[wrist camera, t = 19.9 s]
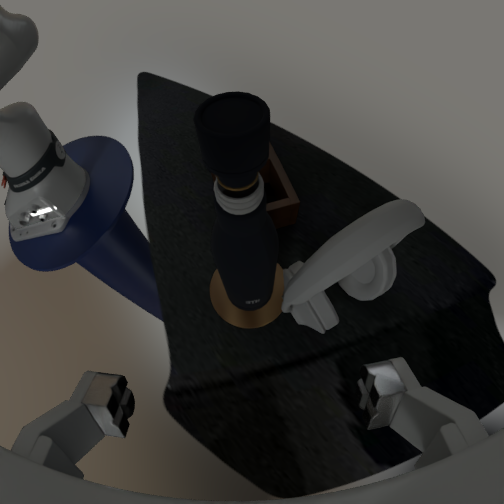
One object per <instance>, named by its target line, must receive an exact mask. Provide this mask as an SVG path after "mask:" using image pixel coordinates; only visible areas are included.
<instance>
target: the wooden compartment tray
mask: <svg viewBox="0 0 504 504" xmlns="http://www.w3.org/2000/svg"><path fill="white" fill-rule="evenodd" d="M258 172H259V174H260V175H261V177H262V179H263V181H264V183H268V182H269V183H270V185H271V187H272V189H273V192H274V194H275V196H276V198H277V201H275V202H271V203H268V204H266V211H267V213H268V214H269V216H270V217H271V219H272V221H273V223H274V226H275V228H276V229H278V228H281V227H284V226H288V225H291V224H295V223H296V219H297V214H298V209H299V204H300V201H299V199H298V197H297V195H296V193H295V191H294V189H293V187H292V185H291V183H290V181H289V179H288V177H287V175H286V173H285V171H284V169H283V167H282V165H281V163H280V161H279V159H278V157H277V155H276V153H275V151H274V149H273V147H272V146H271V144H270V142H269V158H268V160H267V163H266V165H265V166H264V167H263V168H262V169H261V170H260V171H258ZM211 174H212V177H213V180H214V183H215V181H216V177H217V176H216V175H215V174H213V173H211Z"/></svg>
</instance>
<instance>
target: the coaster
mask: <svg viewBox="0 0 504 504" xmlns="http://www.w3.org/2000/svg"><path fill="white" fill-rule="evenodd" d="M283 291H284V276H283V269H282V268H281V266H280V265H279V264H278V263H277V267H276V273H275V280H274V286H273V292H272V295H271V299H270V300H269V301H268V303H267V304H266V305H265V306H263V307H262V308H260V309H258V310H255V311H244V310H241V309H238V308H237V307H236V306H234V305H233V304H232V303H231V301H230V300H229V298H228V296H227V293H226V291H225V288H224V285H223V283H222V280H221V277H220V275H219V272H218V269H216V271H215V273H214V275H213V277H212V280H211V284H210V297H211V301H212V304H213V306H214V308H215V310H216V311H217V313H218V314H219V315H220V316H221V317H222V318H223V319H224V320H225V321H227V322H228V323H230V324H232V325H234V326H237V327H241V328H257V327H261V326H264V325H266V324H268V323H270V322H272V321H273V320H274V319H276V318H277V317H278V316H279V315H280V313H281V312H282V309H281V307H282V302H283V299H282V295H283Z"/></svg>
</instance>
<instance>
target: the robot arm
mask: <svg viewBox="0 0 504 504" xmlns="http://www.w3.org/2000/svg"><path fill="white" fill-rule="evenodd" d="M37 45H38V30H37V28H36V25H35V23H34V22H33V21H32V20H31V19H30V18H29V17H27V16H24V15H21V14H12V13H9V12H7V11H5V10H4V9H3V8H2V7H1V5H0V90H1V89H2V88H3V87H4V86H5V85H6V84H7V83H8V81H10V80H11V79H12V78H13V77H14V76H15V75H16V74H17V73H18V72H19V71H20V70H21V68H22V67H23V65H24V64H25V63H26V61H28V59H29V58H30V57H31V55H32V54H33V52H35V50H36V48H37ZM0 168H1V169H2V170H3V171H4V172H3V180H2V185H3V183H4V188H5V186H6V182H7V181H8V183H9V190H8V193H7V198H6V201H5V204H4V205H5V210H6V216H7V218H8V220H9V222H10V232H11V236H12V238H13V240H14V241H16V242H17V241H22V240H26V239H31V238H35V237H40V236H45V235H49V234H54V233H59V232H62V231H63V230H64V228H65V227H66V225H67V223H68V221H69V219H70V217H71V216H72V215H73V214H74V213H75V212H76V210H77V209H78V208H79V207H80V206H81V204H82V203H83V201H84V199H85V197H86V195H87V193H88V190H89V186H90V177H89V174H88V172H87V171H86V170H85V169H84V168H82V167H80V166H79V165H78V164H76V163H75V162H74V161H73V160H72V159H71V158H70V157H69V156H68V155H67V154H66V152H65V150H64V148H63V146H62V145H61V143H60V142H59V140H58V139H57V138H56V136H55V135H54V133H53V132H52V131H51V130H49V129H48V128H47V127H46V125H45V124H44V122H43V121H42V119H41V118H40V116H39V114H38V113H37V111H36V110H35V108H34V107H33V106H32V105H31V104H28V103H26V102H17V103H13V104H11V105H8V106H6V107H4V108H2V109H0ZM360 376H361V379H360V380H359V381H358V382H357V386H356V398H357V402H358V405H359V407H361V408H362V409H364V412H363V415H362V416H363V419H364V421H365V424H366V427H367V430H369V429H374V428H379V427H383V426H388V425H390V427H391V428H392V429H394V430H395V431H396V432H397V433H399V434H400V435H401V436H403V437H404V438H405V439H406V440H408V441H409V442H410V443H411V444H413V445H414V446H415V447H417V448H418V449H419V450H420V451H422V452H423V454H422V455H421V457H420V458H419V460H418V461H417V462H416V464H415V469H416V470H414V471H411V472H408V473H405V474H402V475H399V476H396V477H393V478H389V479H386V480H383V481H379V482H375V483H372V484H368V485H364V486H360V487H355V488H351V489H346V490H341V491H337V492H331V493H325V494H319V495H313V496H305V497H297V498H288V499H277V500H262V501H205V500H192V499H180V498H171V497H163V496H156V495H150V494H144V493H138V492H133V491H128V490H123V489H118V488H114V487H109V486H105V485H102V484H98V483H94V482H90V481H87V480H84V479H83V477H84V475H83V473H82V471H81V470H79V468H78V467H77V466H76V465H75V464H76V463H77V462H78V461H79V460H80V459H81V458H82V457H83V456H84V455H86V454H87V453H88V452H89V451H90V450H91V449H92V448H93V447H94V446H95V445H96V444H97V443H98V442H99V441H100V440H102V439H103V438H104V437H105V435H108V436H114V437H121V438H125V437H126V434H127V431H128V427H129V422H128V420H127V419H128V418H129V417H131V416H132V415H133V412H134V408H135V400H134V396H133V393H132V391H131V390H130V389H128V388H127V387H126V386H127V383H128V382H127V380H126V378H125V376H123V375H116V374H108V373H101V372H92V371H87V372H85V373H84V374H83V376H82V378H81V380H80V381H79V383H78V385H77V387H76V389H75V391H74V392H73V394H72V396H71V398H70V400H69V401H67V400H65V401H64V402H62V403H61V404H59V405H58V406H56V407H54V408H53V409H51V410H50V411H48V412H46V413H45V414H43V415H42V416H40V417H39V418H37V419H35V420H34V421H32V422H30V423H29V424H27V425H26V426H24V427H23V428H22V430H21V432H20V433H19V435H18V437H17V439H16V441H15V443H14V445H13V447H12V449H11V451H10V450H7V449H5V448H4V447H1V446H0V504H504V428H503V429H501V430H499V431H498V432H496V433H494V434H492V435H491V436H489V435H488V434H487V432H486V430H485V429H484V427H483V425H482V424H481V422H480V420H479V419H478V417H477V416H476V414H475V413H474V412H473V411H471V410H469V409H467V408H466V407H464V406H462V405H460V404H458V403H456V402H454V401H452V400H450V399H448V398H446V397H444V396H442V395H440V394H438V393H436V392H435V391H433V390H431V389H429V388H427V387H421V386H420V384H419V382H418V381H417V379H416V377H415V376H414V374H413V372H412V371H411V369H410V368H409V366H408V364H407V363H406V361H405V360H404V358H402V357H400V358H395V359H391V360H386V361H381V362H376V363H370V364H365V365H362V367H361V369H360Z"/></svg>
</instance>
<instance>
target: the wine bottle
mask: <svg viewBox="0 0 504 504" xmlns="http://www.w3.org/2000/svg"><path fill="white" fill-rule="evenodd" d="M194 124H195V129H196V133H197V137H198V142H199V146H200V150H201V155H202V159H203V162H204V165H205V167H206V168H207V169H208V170H209V171H210V172H211V173H213V174H215V175H216V176H217V177H216V181H215V183H214V191H215V195H214V205H215V210H216V214H217V218H216V220H215V223H214V225H213V228H212V237H211V252H212V255H213V259H214V261H215V264H216V267H217V269H218V272H219V275H220V277H221V280H222V283H223V285H224V288H225V291H226V293H227V296H228V298H229V300H230V301H231V303H232V304H233V305H234V306H236V307H237V308H238V309H241V310H244V311H255V310H258V309H260V308H262V307H263V306H265V305H266V304H267V303H268V301H269V300H270V299H271V295H272V292H273V286H274V280H275V273H276V267H277V260H278V253H279V239H278V234H277V231H276V228H275V226H274V223H273V221H272V219H271V217H270V216H269V214H268V213H267V211H266V204H267V199H266V192H265V190H264V181H263V179H262V177H261V175H260V174H259V172H258V171H260V170H261V169H262V168H263V167H264V166H265V165H266V163H267V160H268V158H269V140H270V109H269V107H268V106H267V104H266V103H265V101H263V100H262V99H260V98H259V97H258V96H255V95H252V94H250V93H244V92H226V93H222V94H218V95H215V96H213V97H210V98H208V99H207V100H206V101H204V102H203V103H202V104H200V106H199V107H198V108H197V110H196V111H195V115H194Z"/></svg>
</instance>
